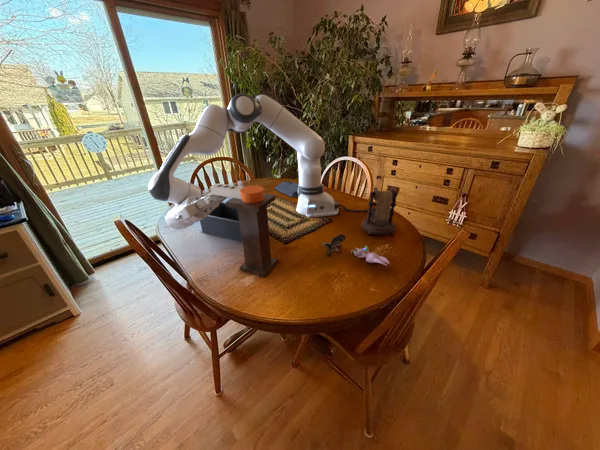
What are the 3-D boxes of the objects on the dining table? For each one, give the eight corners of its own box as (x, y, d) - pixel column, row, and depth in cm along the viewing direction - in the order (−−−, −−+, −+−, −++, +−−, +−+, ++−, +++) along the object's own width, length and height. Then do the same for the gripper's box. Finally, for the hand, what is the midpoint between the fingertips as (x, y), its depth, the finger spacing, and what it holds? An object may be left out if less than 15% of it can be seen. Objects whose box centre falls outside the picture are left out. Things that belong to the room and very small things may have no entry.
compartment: (202, 231, 107) (198, 214, 102) (223, 218, 118) (220, 201, 114) (244, 242, 99) (241, 223, 95) (262, 226, 111) (260, 208, 106)
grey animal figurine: (343, 257, 87) (349, 241, 93) (333, 242, 85) (340, 227, 91) (326, 260, 92) (334, 245, 98) (316, 247, 90) (325, 232, 96)
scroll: (364, 238, 101) (370, 193, 91) (358, 221, 114) (363, 181, 104) (399, 238, 100) (409, 194, 90) (389, 222, 113) (397, 181, 103)
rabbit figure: (348, 258, 90) (382, 272, 79) (347, 244, 88) (383, 257, 77) (358, 252, 94) (393, 265, 82) (358, 238, 92) (393, 250, 80)
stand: (237, 270, 83) (225, 201, 70) (253, 254, 91) (245, 190, 78) (265, 278, 79) (258, 207, 66) (279, 261, 87) (275, 195, 75)
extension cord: (207, 196, 74) (205, 187, 73) (222, 189, 80) (220, 180, 79) (256, 204, 68) (255, 194, 67) (268, 196, 74) (267, 187, 72)
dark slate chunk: (290, 183, 164) (290, 177, 162) (312, 192, 150) (312, 184, 147) (272, 188, 155) (272, 181, 153) (293, 198, 141) (293, 190, 138)
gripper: (166, 212, 75) (189, 197, 68) (210, 191, 92) (233, 176, 84) (178, 229, 77) (202, 215, 69) (219, 205, 93) (243, 192, 86)
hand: (219, 194), depth 77 cm, fingers open, 8 cm apart
